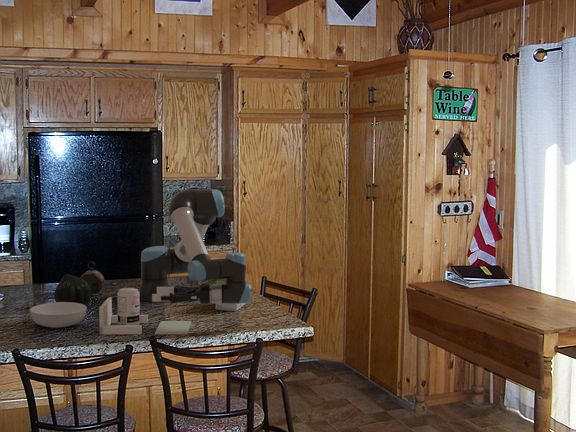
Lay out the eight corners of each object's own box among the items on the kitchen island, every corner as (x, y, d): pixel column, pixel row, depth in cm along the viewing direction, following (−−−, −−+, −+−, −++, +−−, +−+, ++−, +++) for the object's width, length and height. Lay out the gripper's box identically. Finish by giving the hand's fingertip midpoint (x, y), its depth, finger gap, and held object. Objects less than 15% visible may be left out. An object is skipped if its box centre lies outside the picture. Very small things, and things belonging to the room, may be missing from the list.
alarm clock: (105, 295, 327) (104, 260, 325) (101, 298, 322) (100, 262, 320) (82, 294, 328) (81, 260, 326) (77, 297, 323) (77, 262, 321)
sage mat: (154, 334, 262) (154, 333, 262) (160, 322, 280) (160, 321, 280) (187, 334, 263) (187, 333, 263) (191, 322, 281) (191, 321, 281)
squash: (100, 295, 303) (86, 266, 308) (69, 302, 292) (55, 272, 297) (88, 312, 311) (74, 284, 316) (57, 319, 300) (43, 290, 305)
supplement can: (119, 325, 274) (119, 287, 273) (141, 325, 275) (140, 287, 274) (116, 331, 266) (115, 291, 265) (138, 330, 267) (138, 291, 266)
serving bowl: (55, 335, 260) (55, 317, 259) (18, 327, 271) (18, 309, 270) (98, 323, 277) (98, 306, 277) (62, 316, 288) (61, 299, 288)
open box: (147, 322, 280) (147, 297, 279) (141, 334, 262) (141, 307, 261) (108, 322, 279) (108, 297, 278) (99, 334, 262) (99, 307, 261)
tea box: (237, 311, 300) (237, 277, 298) (215, 310, 302) (215, 275, 300) (246, 303, 314) (247, 270, 313) (225, 302, 316) (225, 269, 315)
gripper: (208, 310, 259) (150, 311, 257) (212, 296, 283) (158, 297, 282) (208, 290, 258) (149, 290, 257) (212, 278, 283) (158, 278, 282)
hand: (154, 294), depth 270 cm, fingers open, 13 cm apart
